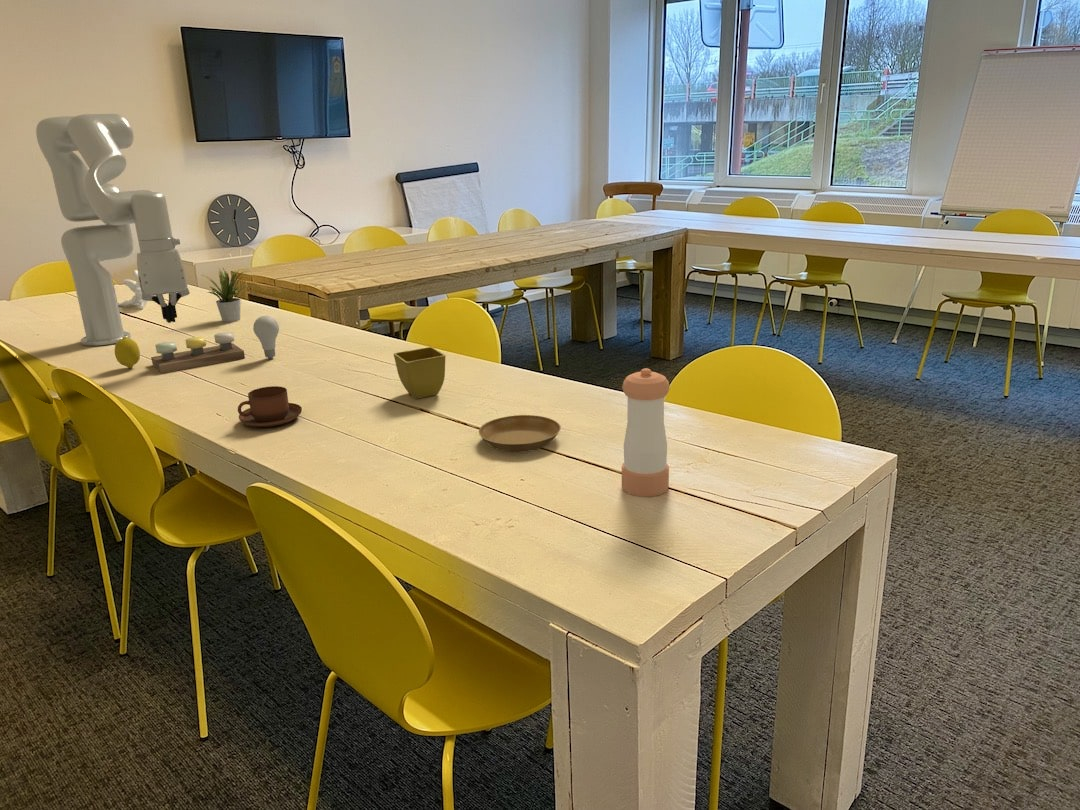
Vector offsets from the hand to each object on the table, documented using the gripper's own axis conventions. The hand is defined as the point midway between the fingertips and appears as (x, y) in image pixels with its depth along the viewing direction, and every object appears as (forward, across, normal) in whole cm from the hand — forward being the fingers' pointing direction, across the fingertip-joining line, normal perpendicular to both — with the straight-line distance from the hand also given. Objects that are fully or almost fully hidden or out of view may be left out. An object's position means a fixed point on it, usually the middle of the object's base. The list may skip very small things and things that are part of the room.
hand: (170, 321), depth 202 cm
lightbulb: (+11, -20, +10) cm, 25 cm away
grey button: (+10, -12, 0) cm, 15 cm away
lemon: (+11, +10, -5) cm, 16 cm away
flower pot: (+12, -37, +61) cm, 72 cm away
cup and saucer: (+12, -6, +56) cm, 58 cm away
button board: (+11, -5, 0) cm, 12 cm away
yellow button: (+10, -5, 0) cm, 11 cm away
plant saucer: (+12, -39, +97) cm, 105 cm away
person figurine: (+12, -5, -89) cm, 90 cm away
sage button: (+10, +2, 0) cm, 10 cm away
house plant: (+11, -25, -43) cm, 51 cm away
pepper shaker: (+12, -44, +126) cm, 134 cm away
